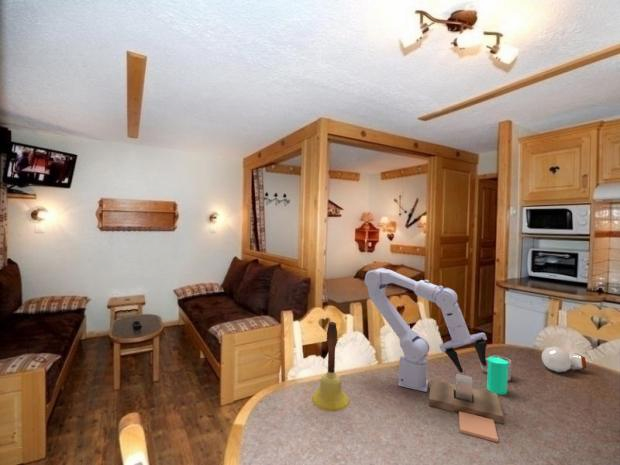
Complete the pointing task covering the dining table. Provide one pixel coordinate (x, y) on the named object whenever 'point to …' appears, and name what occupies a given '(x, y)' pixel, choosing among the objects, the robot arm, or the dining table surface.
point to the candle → (497, 375)
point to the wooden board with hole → (481, 406)
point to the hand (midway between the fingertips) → (472, 368)
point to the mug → (503, 359)
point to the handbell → (331, 380)
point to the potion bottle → (562, 359)
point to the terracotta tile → (477, 426)
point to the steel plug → (464, 388)
